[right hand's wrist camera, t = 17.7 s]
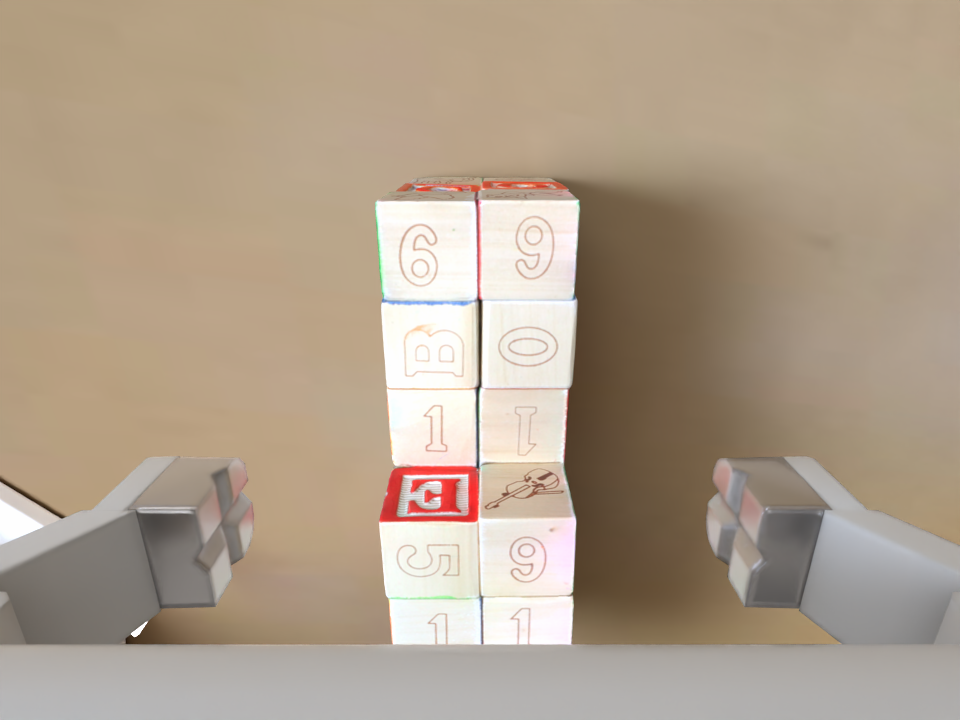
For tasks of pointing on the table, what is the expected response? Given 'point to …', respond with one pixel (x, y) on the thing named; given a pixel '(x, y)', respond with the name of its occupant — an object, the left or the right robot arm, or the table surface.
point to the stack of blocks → (478, 409)
